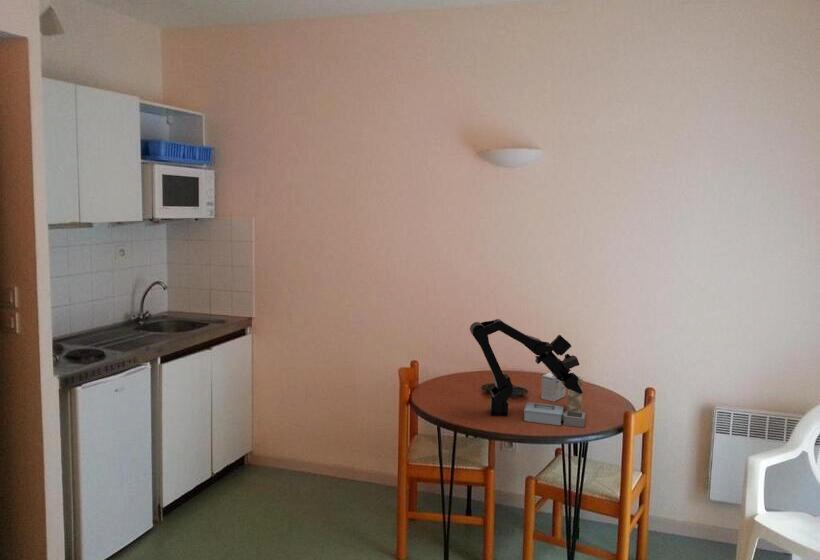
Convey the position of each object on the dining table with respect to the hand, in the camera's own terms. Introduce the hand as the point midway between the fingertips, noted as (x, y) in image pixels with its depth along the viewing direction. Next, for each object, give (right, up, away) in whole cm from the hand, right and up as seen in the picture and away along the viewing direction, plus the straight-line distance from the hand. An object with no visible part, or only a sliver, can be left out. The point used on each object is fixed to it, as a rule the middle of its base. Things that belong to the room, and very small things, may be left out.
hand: (578, 389), depth 268 cm
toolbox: (-11, -11, -8) cm, 18 cm away
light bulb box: (-5, -7, +21) cm, 23 cm away
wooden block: (-1, -10, +1) cm, 10 cm away
